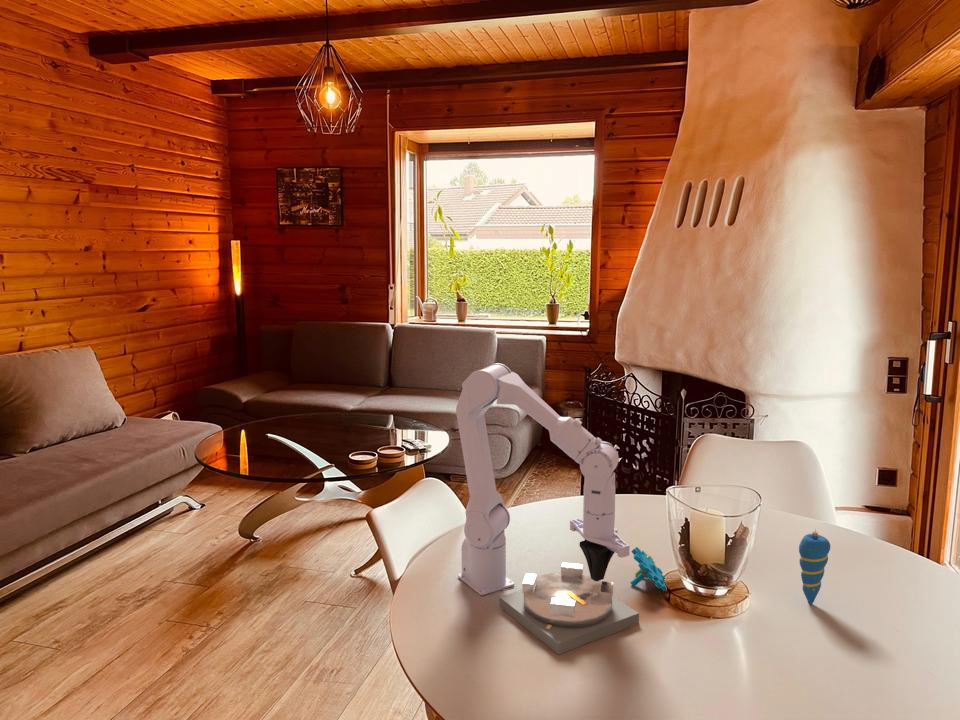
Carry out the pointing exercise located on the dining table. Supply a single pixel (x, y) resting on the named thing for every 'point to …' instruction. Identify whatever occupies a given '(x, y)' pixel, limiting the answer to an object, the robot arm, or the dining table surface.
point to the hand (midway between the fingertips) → (597, 578)
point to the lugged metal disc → (567, 597)
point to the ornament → (813, 563)
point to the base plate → (568, 637)
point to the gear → (647, 569)
